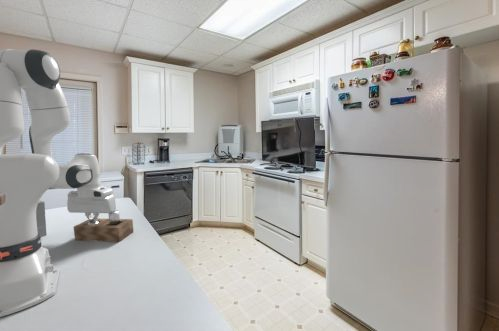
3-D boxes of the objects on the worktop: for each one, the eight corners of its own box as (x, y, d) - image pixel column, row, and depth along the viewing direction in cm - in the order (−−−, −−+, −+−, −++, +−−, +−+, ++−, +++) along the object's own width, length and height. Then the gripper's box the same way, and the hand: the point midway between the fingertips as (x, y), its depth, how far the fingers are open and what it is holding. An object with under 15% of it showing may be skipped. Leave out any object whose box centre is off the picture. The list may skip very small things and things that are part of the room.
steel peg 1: (101, 232, 112) (100, 220, 111) (95, 236, 108) (94, 224, 107) (93, 232, 112) (92, 220, 111) (86, 236, 108) (85, 224, 108)
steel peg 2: (122, 222, 110) (120, 210, 109) (116, 226, 106) (115, 213, 105) (113, 222, 110) (112, 210, 110) (107, 225, 106) (106, 213, 106)
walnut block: (133, 232, 113) (132, 219, 113) (119, 241, 104) (118, 227, 103) (92, 230, 116) (91, 218, 115) (75, 240, 106) (73, 226, 105)
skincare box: (20, 237, 110) (15, 202, 108) (40, 231, 116) (35, 198, 114) (29, 241, 106) (24, 204, 104) (49, 234, 112) (44, 200, 110)
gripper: (61, 192, 105) (65, 224, 107) (106, 193, 103) (110, 225, 105) (73, 189, 112) (76, 219, 114) (116, 189, 109) (119, 220, 111)
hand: (93, 222), depth 109 cm, fingers closed, pressing on steel peg 1
